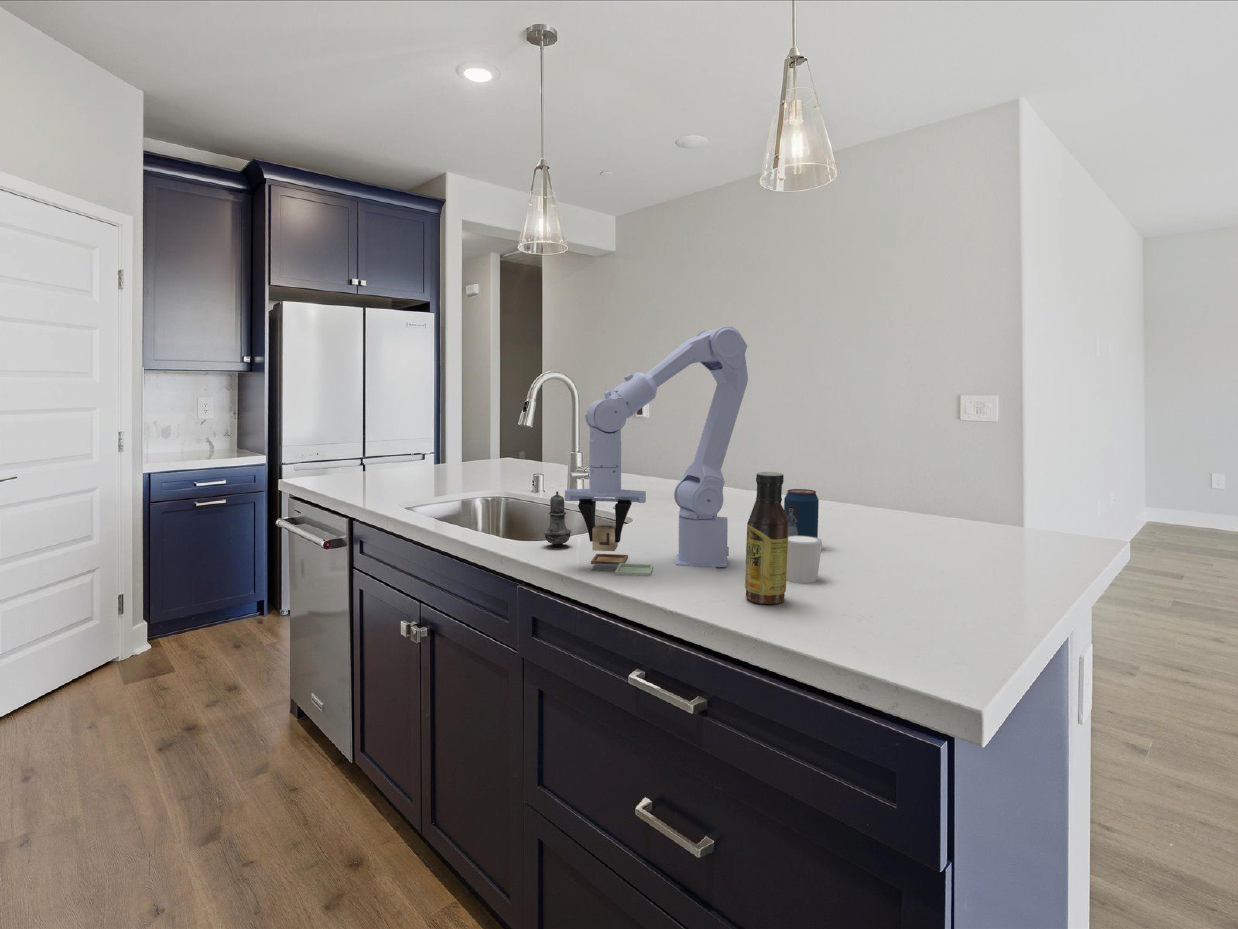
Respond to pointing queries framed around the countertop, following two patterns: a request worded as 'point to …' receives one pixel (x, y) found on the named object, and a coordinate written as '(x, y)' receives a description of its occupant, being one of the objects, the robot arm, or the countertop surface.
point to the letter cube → (604, 538)
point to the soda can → (802, 512)
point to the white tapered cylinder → (803, 558)
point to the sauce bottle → (767, 542)
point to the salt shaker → (557, 524)
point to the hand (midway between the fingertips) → (605, 541)
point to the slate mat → (604, 567)
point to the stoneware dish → (634, 569)
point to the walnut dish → (609, 559)
